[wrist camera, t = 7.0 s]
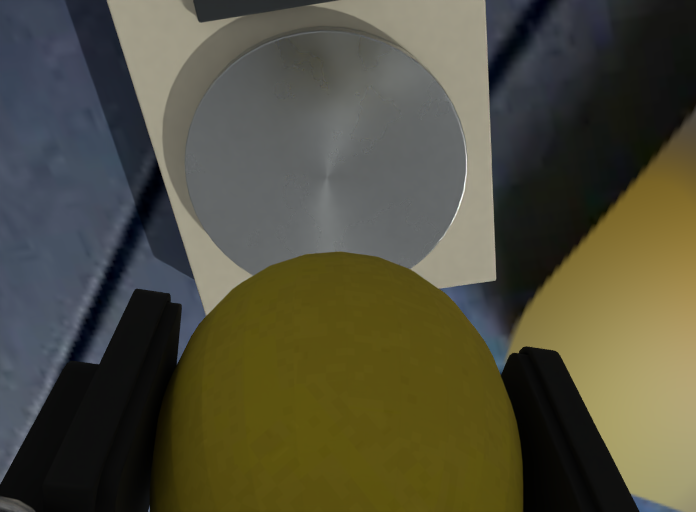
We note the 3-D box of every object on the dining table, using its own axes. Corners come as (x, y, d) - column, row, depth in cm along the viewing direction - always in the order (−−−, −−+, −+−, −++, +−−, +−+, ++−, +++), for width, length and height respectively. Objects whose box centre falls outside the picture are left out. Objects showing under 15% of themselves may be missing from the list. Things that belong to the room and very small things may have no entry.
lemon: (518, 270, 13) (727, 683, 6) (362, 433, 16) (392, 872, 9) (295, 124, 12) (251, 470, 5) (154, 329, 14) (-18, 775, 7)
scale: (121, -20, 22) (94, -8, 20) (468, -78, 22) (488, -74, 19) (215, 292, 29) (204, 333, 26) (484, 254, 28) (501, 291, 25)
